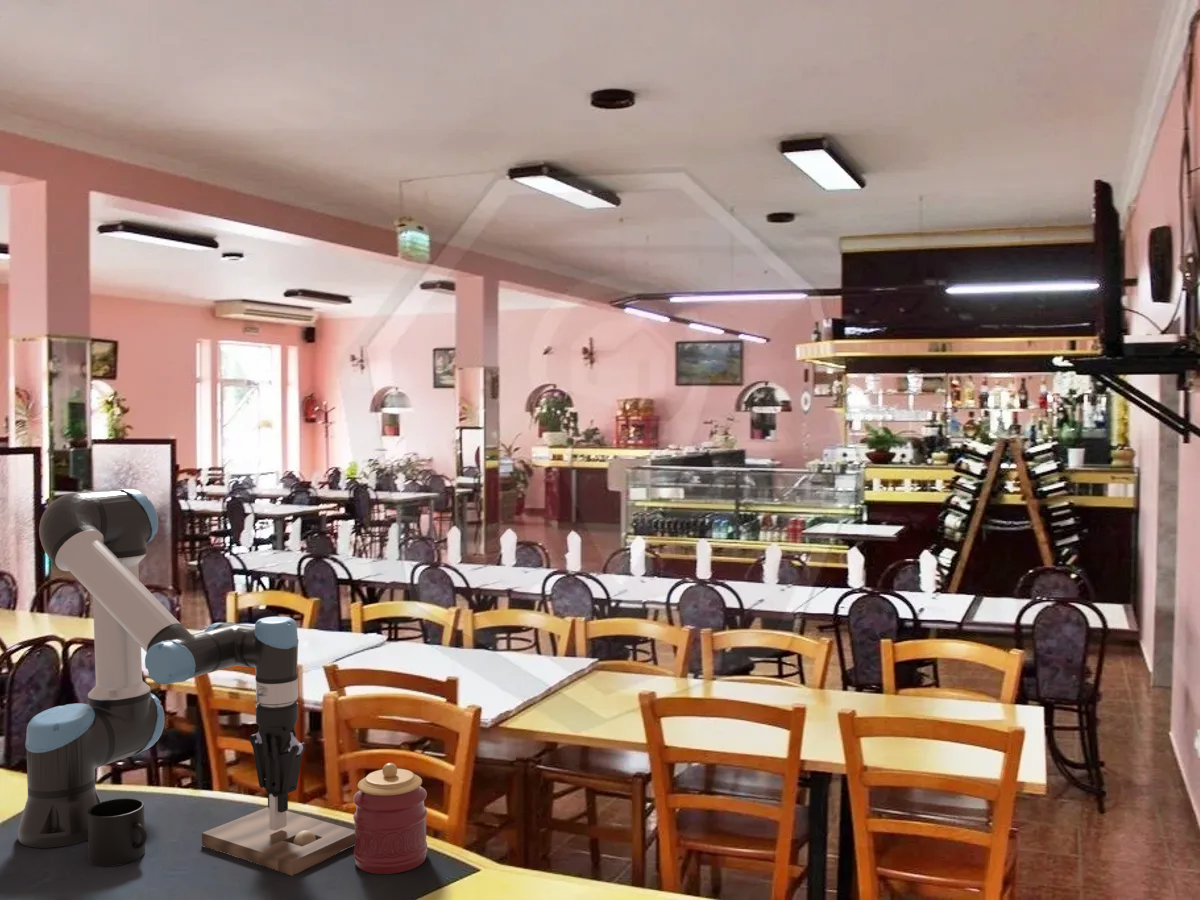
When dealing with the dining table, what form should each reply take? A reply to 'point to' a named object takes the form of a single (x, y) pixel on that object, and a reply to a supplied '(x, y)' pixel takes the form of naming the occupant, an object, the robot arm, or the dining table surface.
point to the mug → (116, 832)
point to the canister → (390, 821)
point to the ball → (304, 838)
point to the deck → (279, 841)
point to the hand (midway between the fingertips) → (278, 827)
